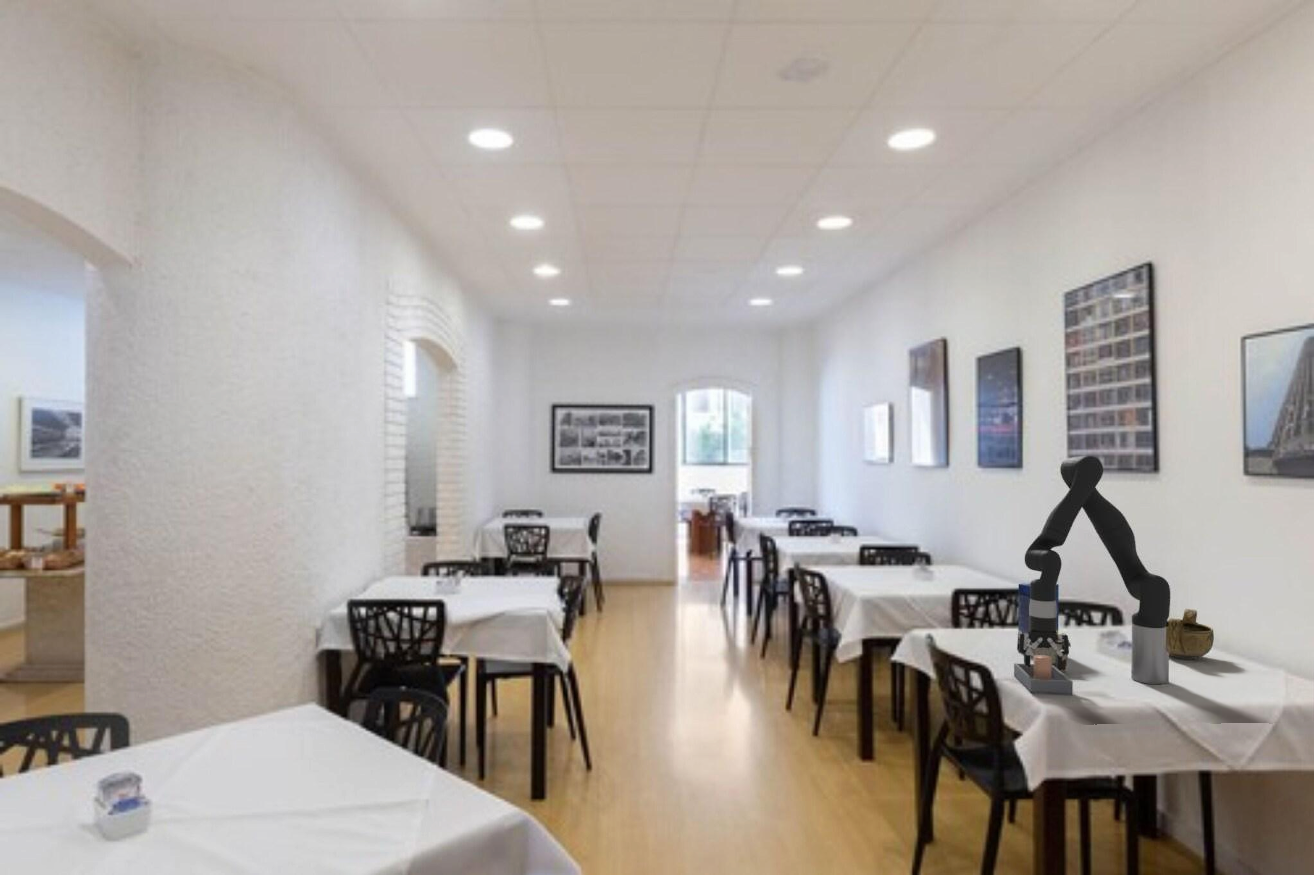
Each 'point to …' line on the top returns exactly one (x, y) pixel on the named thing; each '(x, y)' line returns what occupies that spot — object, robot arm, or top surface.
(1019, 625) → the juice carton
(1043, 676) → the brown upright block
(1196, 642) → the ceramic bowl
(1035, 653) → the food container
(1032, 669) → the bin
